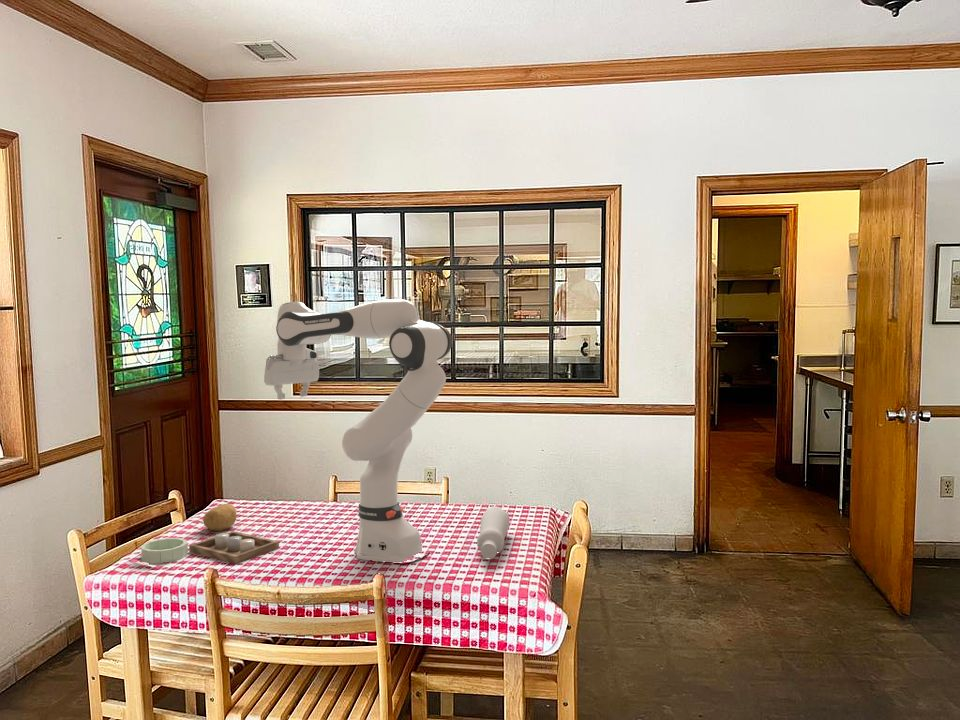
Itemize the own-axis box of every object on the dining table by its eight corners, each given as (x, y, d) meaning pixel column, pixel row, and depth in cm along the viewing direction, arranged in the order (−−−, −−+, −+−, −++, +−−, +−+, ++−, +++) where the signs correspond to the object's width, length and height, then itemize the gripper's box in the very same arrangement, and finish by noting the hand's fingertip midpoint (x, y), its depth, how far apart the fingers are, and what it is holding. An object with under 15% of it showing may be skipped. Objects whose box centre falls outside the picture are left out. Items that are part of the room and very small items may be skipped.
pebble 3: (257, 552, 207) (257, 540, 207) (246, 556, 203) (246, 543, 203) (248, 550, 209) (247, 538, 209) (237, 553, 205) (237, 541, 205)
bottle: (476, 521, 229) (466, 555, 199) (492, 499, 228) (484, 529, 198) (499, 537, 229) (493, 573, 199) (515, 515, 228) (511, 547, 198)
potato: (244, 523, 238) (243, 500, 238) (226, 536, 224) (226, 511, 224) (216, 523, 239) (215, 500, 238) (196, 535, 225) (196, 511, 224)
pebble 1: (232, 546, 212) (231, 534, 212) (221, 549, 209) (220, 537, 209) (223, 543, 215) (223, 532, 214) (212, 547, 211) (211, 535, 211)
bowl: (196, 555, 206) (195, 542, 206) (159, 567, 195) (158, 553, 195) (170, 548, 212) (169, 535, 212) (132, 560, 202) (132, 546, 201)
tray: (279, 549, 211) (278, 541, 211) (235, 565, 197) (235, 556, 197) (233, 539, 221) (233, 531, 221) (189, 553, 207) (189, 545, 207)
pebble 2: (244, 549, 210) (244, 537, 209) (233, 552, 206) (233, 540, 206) (235, 546, 212) (235, 535, 212) (224, 550, 208) (224, 538, 208)
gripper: (273, 355, 211) (274, 401, 211) (322, 353, 228) (322, 395, 229) (259, 355, 214) (259, 400, 215) (308, 352, 231) (308, 394, 232)
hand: (292, 397), depth 222 cm, fingers open, 8 cm apart
